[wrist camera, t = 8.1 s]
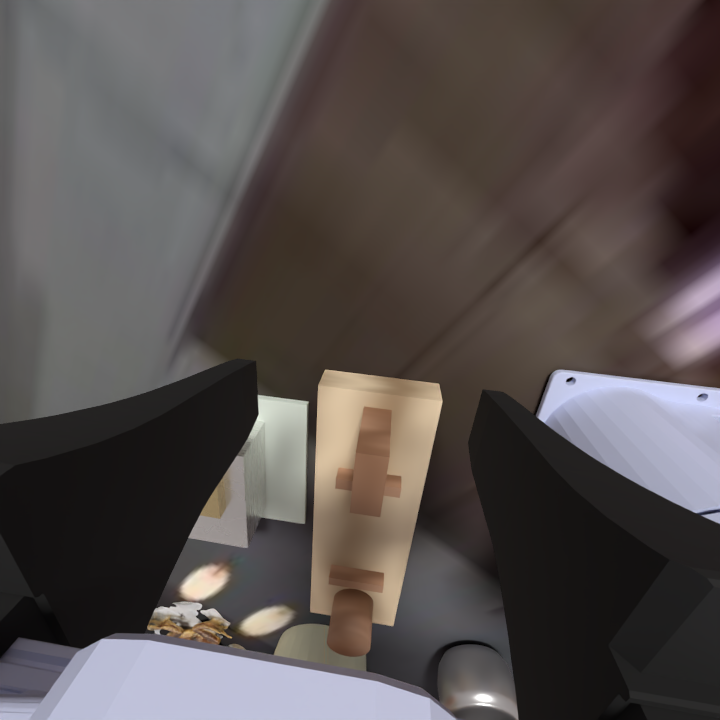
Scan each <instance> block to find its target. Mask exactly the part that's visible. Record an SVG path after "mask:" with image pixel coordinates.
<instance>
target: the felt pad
mask: <svg viewBox="0 0 720 720" xmlns="http://www.w3.org/2000/svg"><path fill="white" fill-rule="evenodd" d="M308 407H309V402H307V401H299V400H292V399H284V398H277V397H269V396H261V395H258V409H259V415H258V417H257V419H256V420H259V421H265V471H266V508H265V510H264V513H263V515H262V518H268V519H275V520H281V521H288V522H294V523H301V524H305V521H306V496H307V451H308Z"/></svg>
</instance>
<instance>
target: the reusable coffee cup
mask: <svg viewBox="0 0 720 720" xmlns="http://www.w3.org/2000/svg"><path fill="white" fill-rule="evenodd" d="M328 630H329V626H327V625H321V624H302V625H297V626H294V627H291V628H289V629H287V630H286V631H285V632H284V633H283V634H282V636H281V637H280V640H279V642H278V645H277V647H276V650H275V653H274V655H277V656H282V657H288V658H293V659H299V660H305V661H310V662H316V663H321V664H327V665H333V666H338V667H344V668H349V669H355V670H361V671H366V654H365V655H363V656H359V657H349V656H344V655H340V654H338V653H336V652H334V651H333V650H331V649H330V648H329V646H328V645H327V636H328Z"/></svg>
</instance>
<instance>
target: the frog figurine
mask: <svg viewBox="0 0 720 720" xmlns="http://www.w3.org/2000/svg"><path fill="white" fill-rule="evenodd" d="M173 604H175V605H176V606H177V607H171V606H170V608H166V607H162V606H161V607H159V608H157V609H156V608H155V610H154V612H153V615H152V617H151V619H150V622H149V624H148V626H147V627H148V630H154V631H155V634H159V635H160V633H159V631H160V629H165V630H168V631H171V632H170V633H168V634H167V636H170V637H176V638H181V639H187V640H193V641H198V642H204V643H209V644H215V645H219V643H220V641H221V638H223V636H222V635H219V634H223V635H224V636H226V637H228V638H232V637H231V636H229V635H227V634H226V633H225V631H224V630H226V629H228V626H229V625H230V623H229V622H228V621H226V620H225V619H223V618H222V617H221V615H220V614H219V613H218V612H217V611H216V610H215V609H208V610H206V611H204V610H201V613H202V614H204V615H205V616H207V617H208V618H209V619H210V620H209V621H205V622H201V621H200V620H199V619H197V618H196V616H197V615H198V612H197V610H200V609H201V607H202V604H199V603H193V602H187V601H185V602H175V603H173ZM174 622H177V624H175V623H174ZM228 647H232V648H237V649H243V650H245V649H244V648H243V647H242V646H240V645H238V644H231V645H229V646H228Z"/></svg>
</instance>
